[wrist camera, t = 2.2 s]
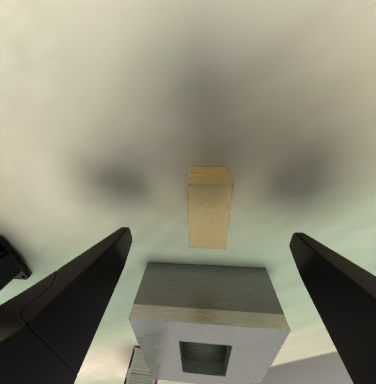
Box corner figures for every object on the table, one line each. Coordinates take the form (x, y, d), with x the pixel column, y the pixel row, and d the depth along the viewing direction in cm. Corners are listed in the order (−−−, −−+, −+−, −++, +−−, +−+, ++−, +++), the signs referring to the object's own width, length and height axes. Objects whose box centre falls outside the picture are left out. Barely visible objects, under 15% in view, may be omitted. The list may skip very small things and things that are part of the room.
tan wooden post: (191, 221, 14) (189, 247, 11) (191, 166, 12) (187, 183, 9) (220, 221, 14) (225, 248, 11) (225, 166, 11) (232, 183, 9)
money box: (161, 327, 23) (152, 378, 19) (147, 262, 17) (128, 318, 12) (245, 334, 22) (256, 390, 18) (265, 268, 16) (290, 330, 11)
